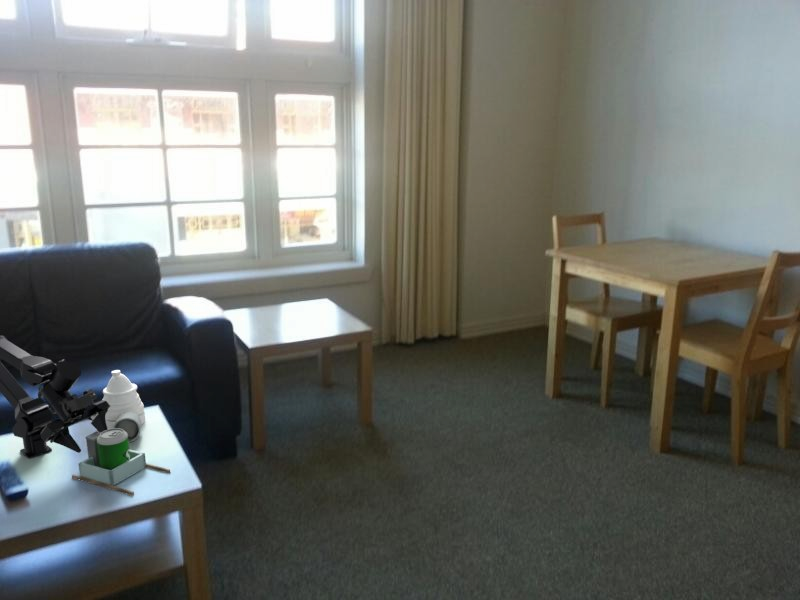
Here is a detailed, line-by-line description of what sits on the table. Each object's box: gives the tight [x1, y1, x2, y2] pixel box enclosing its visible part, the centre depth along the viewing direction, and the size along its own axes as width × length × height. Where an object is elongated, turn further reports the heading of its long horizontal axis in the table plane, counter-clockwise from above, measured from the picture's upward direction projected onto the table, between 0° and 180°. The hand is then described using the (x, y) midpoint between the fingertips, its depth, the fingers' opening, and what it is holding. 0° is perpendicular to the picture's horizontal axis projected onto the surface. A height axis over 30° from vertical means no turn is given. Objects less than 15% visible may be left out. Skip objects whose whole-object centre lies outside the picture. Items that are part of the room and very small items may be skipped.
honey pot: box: [102, 369, 146, 429], centre depth 208 cm, size 13×13×18 cm
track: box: [71, 462, 171, 496], centre depth 177 cm, size 22×13×1 cm, turn 65°
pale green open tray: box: [78, 430, 147, 486], centre depth 178 cm, size 13×12×10 cm
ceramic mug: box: [113, 411, 142, 443], centre depth 199 cm, size 11×8×8 cm
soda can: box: [97, 428, 130, 470], centre depth 176 cm, size 8×8×12 cm
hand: (94, 444), depth 179 cm, fingers open, 9 cm apart
